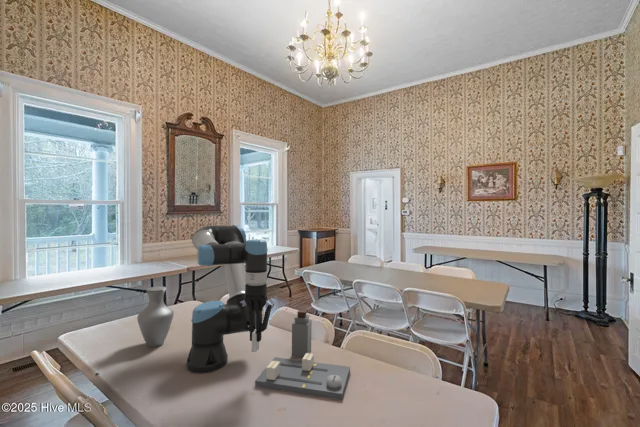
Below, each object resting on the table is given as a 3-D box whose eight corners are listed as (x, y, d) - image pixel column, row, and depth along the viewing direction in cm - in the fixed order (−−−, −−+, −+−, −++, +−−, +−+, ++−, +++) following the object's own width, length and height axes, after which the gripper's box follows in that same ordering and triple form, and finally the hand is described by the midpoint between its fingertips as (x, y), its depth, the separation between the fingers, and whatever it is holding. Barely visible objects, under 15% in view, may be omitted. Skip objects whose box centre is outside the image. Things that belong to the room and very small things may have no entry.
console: (255, 386, 105) (255, 374, 105) (275, 362, 122) (275, 351, 122) (342, 400, 98) (342, 387, 98) (350, 372, 115) (350, 361, 115)
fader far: (302, 370, 112) (302, 358, 112) (305, 363, 117) (306, 352, 117) (309, 371, 111) (310, 359, 111) (313, 364, 116) (313, 353, 116)
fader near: (266, 379, 105) (266, 366, 105) (272, 371, 110) (272, 360, 110) (274, 380, 105) (274, 368, 105) (280, 372, 110) (280, 361, 110)
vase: (129, 347, 134) (129, 290, 134) (157, 335, 147) (158, 283, 147) (153, 353, 129) (153, 293, 129) (180, 340, 142) (181, 286, 142)
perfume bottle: (307, 358, 126) (308, 314, 126) (291, 356, 128) (292, 312, 128) (311, 351, 133) (311, 309, 133) (296, 349, 134) (296, 308, 134)
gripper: (234, 284, 107) (233, 352, 107) (269, 286, 104) (268, 356, 104) (244, 280, 114) (243, 344, 114) (277, 282, 111) (276, 347, 111)
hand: (255, 350), depth 109 cm, fingers closed
